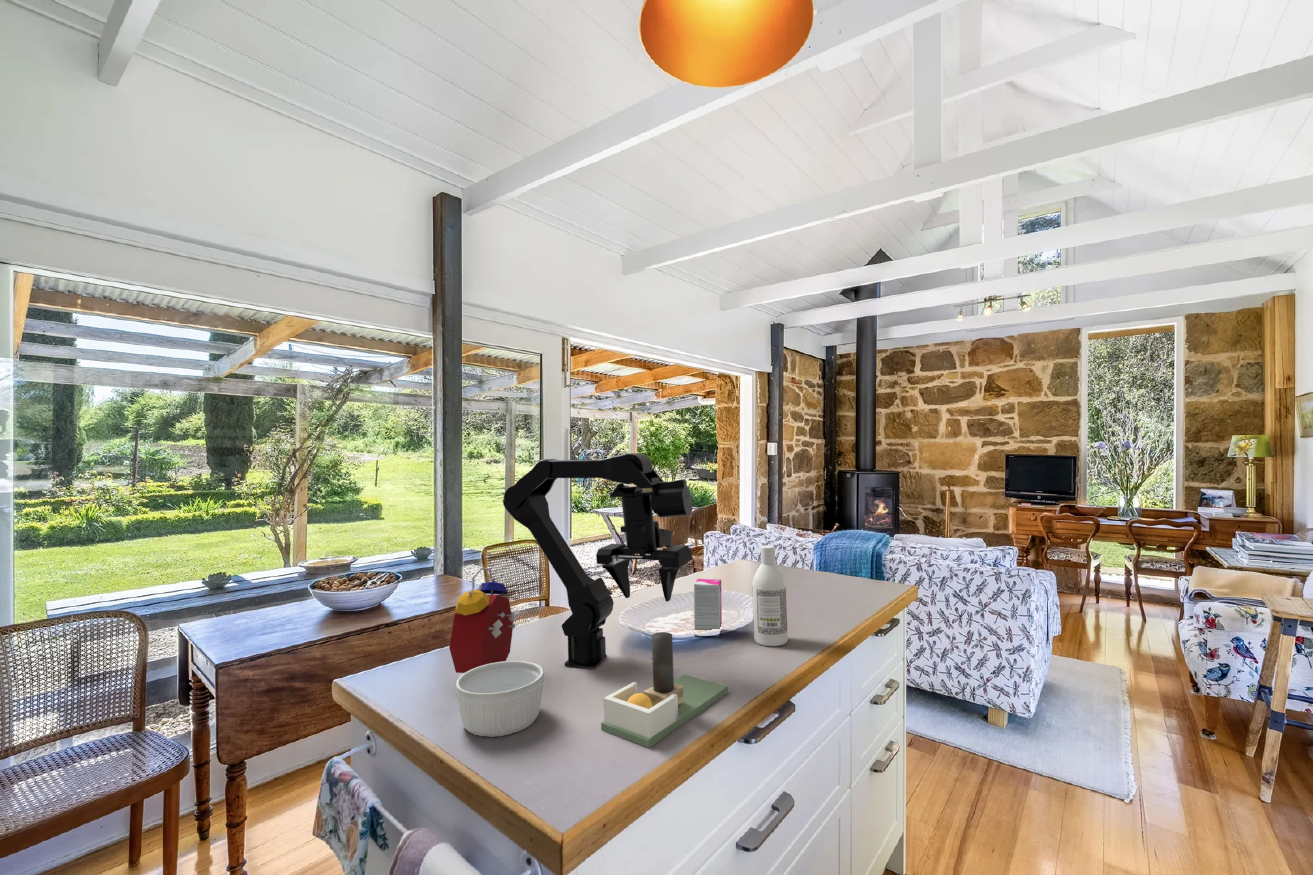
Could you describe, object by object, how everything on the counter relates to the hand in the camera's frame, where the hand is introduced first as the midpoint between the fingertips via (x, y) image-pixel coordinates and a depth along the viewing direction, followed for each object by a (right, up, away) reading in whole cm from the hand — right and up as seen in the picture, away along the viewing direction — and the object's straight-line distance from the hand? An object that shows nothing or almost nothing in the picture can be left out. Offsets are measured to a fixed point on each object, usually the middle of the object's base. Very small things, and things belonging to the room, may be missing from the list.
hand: (647, 599), depth 107 cm
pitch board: (+4, -12, -19) cm, 23 cm away
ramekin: (-22, -13, -20) cm, 33 cm away
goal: (-1, -11, -24) cm, 26 cm away
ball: (-1, -9, -24) cm, 26 cm away
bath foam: (+26, -12, +11) cm, 31 cm away
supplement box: (+13, -13, +18) cm, 26 cm away
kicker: (+3, -11, -20) cm, 22 cm away
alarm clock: (-30, -14, -2) cm, 33 cm away
